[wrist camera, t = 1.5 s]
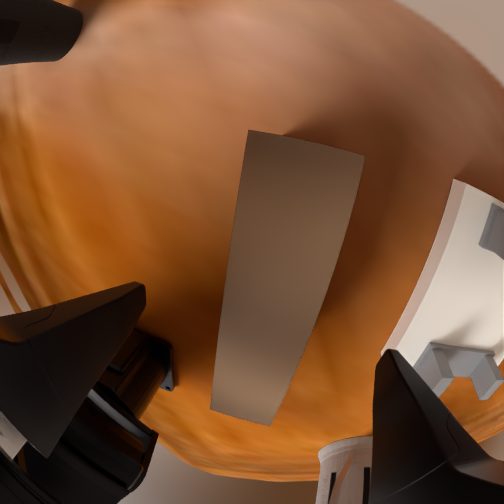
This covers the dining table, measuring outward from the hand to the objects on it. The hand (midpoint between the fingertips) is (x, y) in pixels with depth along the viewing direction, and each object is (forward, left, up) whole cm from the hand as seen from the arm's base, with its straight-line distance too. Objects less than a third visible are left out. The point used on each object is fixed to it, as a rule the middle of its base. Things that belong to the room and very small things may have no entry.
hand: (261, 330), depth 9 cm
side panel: (+1, -14, -7) cm, 15 cm away
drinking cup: (+14, +20, -7) cm, 25 cm away
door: (0, 0, -7) cm, 7 cm away
